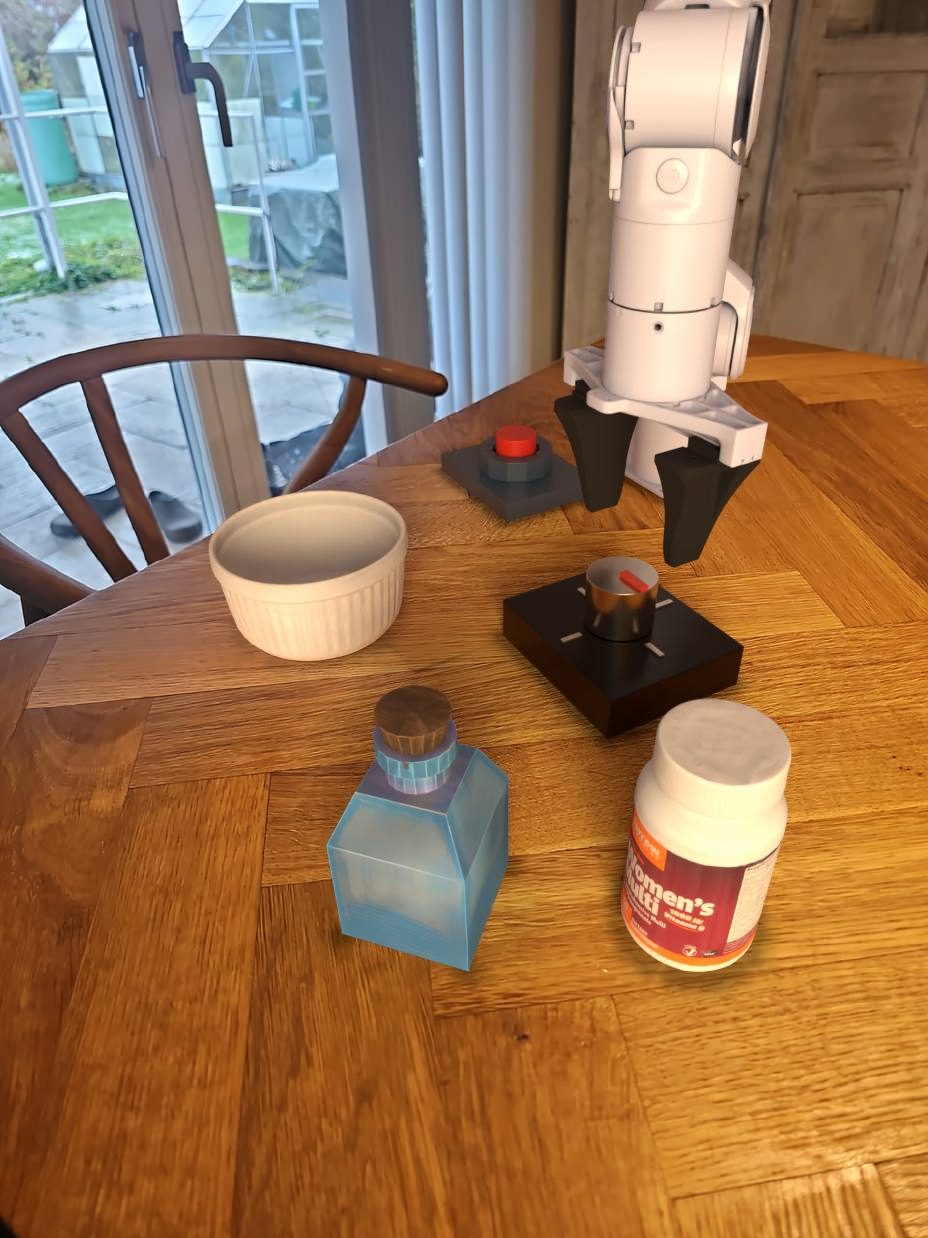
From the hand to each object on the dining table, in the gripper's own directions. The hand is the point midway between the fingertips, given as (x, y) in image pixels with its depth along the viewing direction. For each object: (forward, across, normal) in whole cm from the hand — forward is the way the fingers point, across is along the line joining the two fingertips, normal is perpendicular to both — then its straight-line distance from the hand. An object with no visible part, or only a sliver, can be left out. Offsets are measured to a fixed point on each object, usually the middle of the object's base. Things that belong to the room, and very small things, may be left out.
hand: (639, 532), depth 51 cm
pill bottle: (+9, +18, -10) cm, 22 cm away
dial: (+6, 0, -1) cm, 6 cm away
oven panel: (+9, 0, -1) cm, 9 cm away
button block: (+9, -25, +7) cm, 28 cm away
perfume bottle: (+9, +10, -20) cm, 25 cm away
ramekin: (+9, -14, -16) cm, 24 cm away
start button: (+6, -25, +7) cm, 27 cm away
